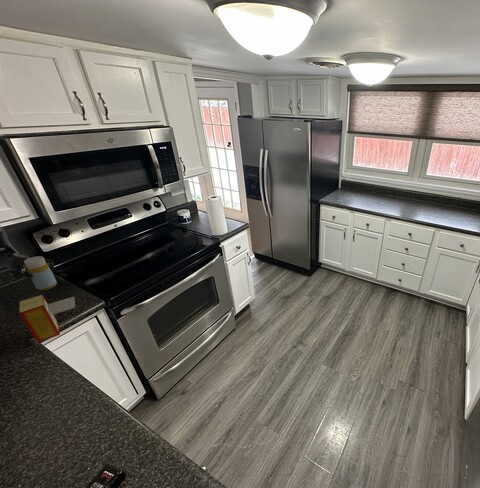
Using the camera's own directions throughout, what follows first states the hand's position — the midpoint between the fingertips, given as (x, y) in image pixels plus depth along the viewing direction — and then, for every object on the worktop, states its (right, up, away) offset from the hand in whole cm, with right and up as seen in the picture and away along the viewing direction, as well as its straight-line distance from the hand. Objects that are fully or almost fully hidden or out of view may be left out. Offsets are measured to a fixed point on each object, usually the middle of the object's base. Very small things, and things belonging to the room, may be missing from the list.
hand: (42, 271), depth 121 cm
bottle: (-2, -8, +5) cm, 9 cm away
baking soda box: (+13, -25, -10) cm, 30 cm away
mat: (+3, -18, +4) cm, 18 cm away
